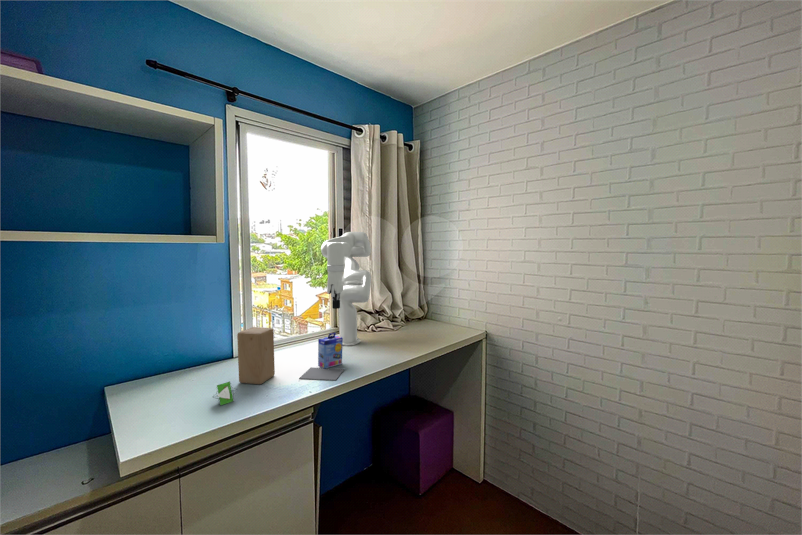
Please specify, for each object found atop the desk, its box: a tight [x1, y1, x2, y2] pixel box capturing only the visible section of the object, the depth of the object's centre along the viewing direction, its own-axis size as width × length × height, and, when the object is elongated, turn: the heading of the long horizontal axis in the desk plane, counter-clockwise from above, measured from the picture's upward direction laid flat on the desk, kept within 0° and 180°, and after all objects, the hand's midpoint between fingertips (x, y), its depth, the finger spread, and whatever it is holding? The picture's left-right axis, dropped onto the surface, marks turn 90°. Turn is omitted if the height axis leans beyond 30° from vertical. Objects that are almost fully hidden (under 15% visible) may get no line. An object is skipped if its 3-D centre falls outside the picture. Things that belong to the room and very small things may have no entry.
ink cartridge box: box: [317, 332, 343, 369], centre depth 150 cm, size 10×6×14 cm, turn 138°
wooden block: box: [236, 326, 276, 385], centre depth 134 cm, size 10×10×20 cm
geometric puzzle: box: [212, 381, 239, 406], centre depth 115 cm, size 7×7×8 cm
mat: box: [298, 367, 345, 382], centre depth 140 cm, size 12×15×1 cm
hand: (336, 308), depth 158 cm, fingers closed
